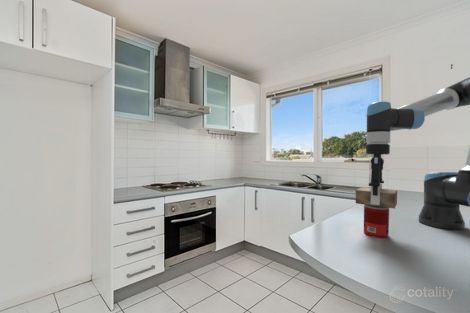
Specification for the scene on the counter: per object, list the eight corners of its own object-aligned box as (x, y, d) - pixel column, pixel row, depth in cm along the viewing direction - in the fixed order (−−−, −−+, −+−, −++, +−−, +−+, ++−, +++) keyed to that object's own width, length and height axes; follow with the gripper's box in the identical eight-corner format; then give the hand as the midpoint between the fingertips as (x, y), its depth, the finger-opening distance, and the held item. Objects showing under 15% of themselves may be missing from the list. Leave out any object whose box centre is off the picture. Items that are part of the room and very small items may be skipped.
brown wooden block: (396, 203, 85) (397, 190, 85) (394, 208, 76) (395, 194, 76) (361, 199, 93) (361, 187, 93) (355, 203, 84) (355, 190, 84)
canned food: (392, 239, 80) (393, 208, 80) (367, 237, 82) (368, 207, 82) (382, 232, 88) (383, 204, 88) (360, 230, 89) (361, 202, 89)
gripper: (369, 145, 96) (368, 196, 96) (362, 142, 77) (360, 205, 77) (390, 145, 92) (389, 198, 92) (388, 141, 73) (387, 209, 73)
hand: (376, 201), depth 85 cm, fingers closed on brown wooden block, 11 cm apart
